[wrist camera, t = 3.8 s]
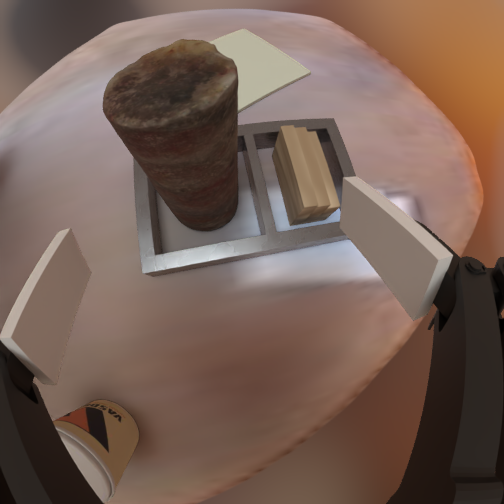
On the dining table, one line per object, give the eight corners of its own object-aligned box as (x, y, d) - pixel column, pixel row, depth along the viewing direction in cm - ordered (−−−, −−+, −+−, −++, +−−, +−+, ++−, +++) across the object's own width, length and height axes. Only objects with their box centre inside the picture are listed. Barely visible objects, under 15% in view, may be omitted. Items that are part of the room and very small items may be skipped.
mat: (166, 65, 33) (165, 63, 33) (243, 30, 36) (243, 28, 35) (229, 118, 32) (229, 115, 32) (310, 74, 35) (311, 71, 34)
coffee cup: (141, 399, 26) (97, 445, 14) (150, 461, 24) (122, 517, 12) (75, 386, 25) (17, 415, 13) (87, 446, 23) (44, 487, 12)
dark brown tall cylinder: (178, 242, 29) (95, 146, 9) (165, 183, 30) (101, 54, 10) (245, 223, 30) (269, 98, 10) (228, 166, 31) (228, 20, 11)
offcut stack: (289, 226, 30) (304, 207, 24) (271, 156, 32) (280, 126, 25) (324, 220, 31) (346, 201, 24) (304, 152, 32) (319, 123, 26)
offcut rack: (152, 276, 28) (142, 273, 25) (141, 160, 30) (133, 146, 27) (358, 237, 31) (372, 230, 27) (325, 133, 33) (333, 118, 29)
